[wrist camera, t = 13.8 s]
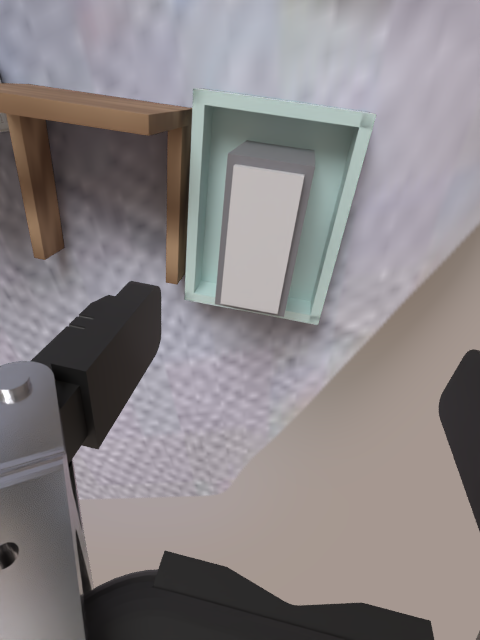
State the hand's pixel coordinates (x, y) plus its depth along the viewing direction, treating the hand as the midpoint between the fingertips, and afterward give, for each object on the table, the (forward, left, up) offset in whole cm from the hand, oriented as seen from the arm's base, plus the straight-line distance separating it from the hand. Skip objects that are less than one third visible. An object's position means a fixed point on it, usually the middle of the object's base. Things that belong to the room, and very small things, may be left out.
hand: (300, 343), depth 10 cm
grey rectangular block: (+3, -3, -21) cm, 22 cm away
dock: (+3, -16, -22) cm, 27 cm away
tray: (+3, -3, -22) cm, 22 cm away
